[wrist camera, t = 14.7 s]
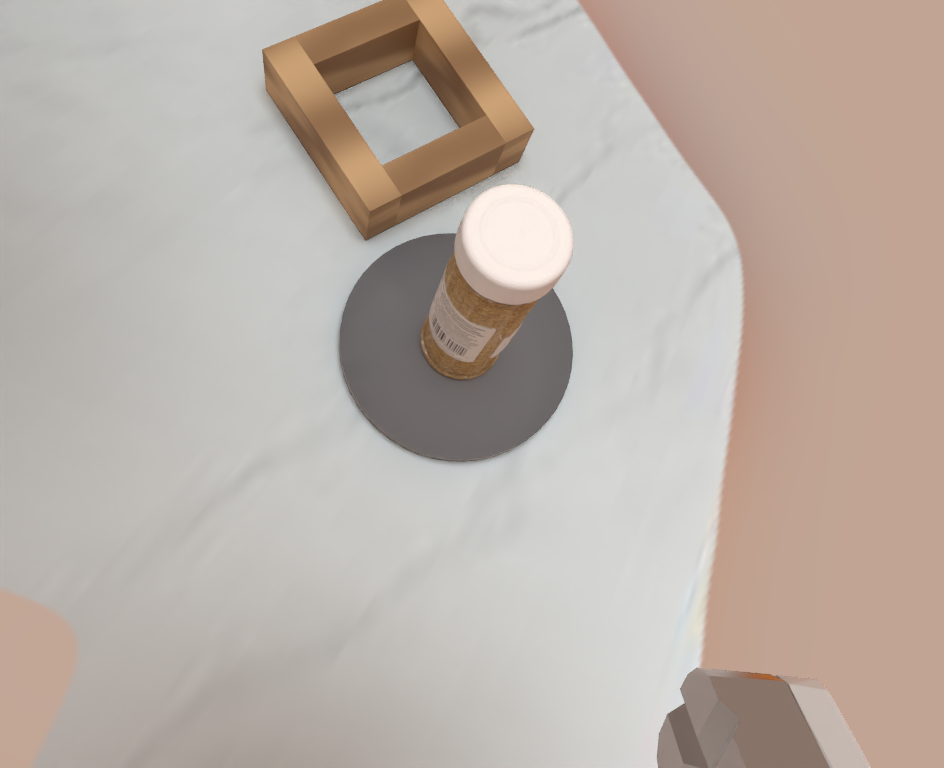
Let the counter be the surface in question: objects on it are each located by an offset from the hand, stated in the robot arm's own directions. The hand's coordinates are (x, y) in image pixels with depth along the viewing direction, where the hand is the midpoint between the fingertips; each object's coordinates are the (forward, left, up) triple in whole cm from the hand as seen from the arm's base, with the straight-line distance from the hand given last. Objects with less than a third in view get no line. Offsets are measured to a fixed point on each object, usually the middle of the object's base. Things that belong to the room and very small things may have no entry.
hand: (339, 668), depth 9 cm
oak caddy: (-22, +18, -31) cm, 42 cm away
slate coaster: (-8, +14, -31) cm, 35 cm away
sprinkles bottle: (-8, +13, -31) cm, 34 cm away
